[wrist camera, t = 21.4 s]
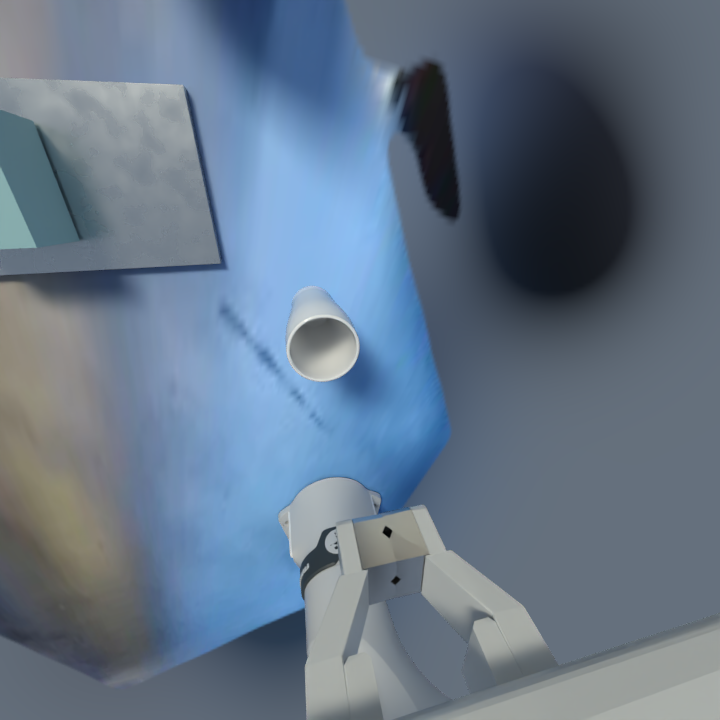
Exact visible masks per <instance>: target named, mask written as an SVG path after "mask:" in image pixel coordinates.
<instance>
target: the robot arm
mask: <svg viewBox="0 0 720 720" xmlns="http://www.w3.org/2000/svg"><path fill="white" fill-rule="evenodd" d="M380 503H381V497H380V494H379V493H376V492H373V491H370V490H368V489H366V488H365V487H364V486H363V485H362V484H360V483H359V482H357V481H355V480H352V479H348V478H341V477H335V478H327V479H323V480H320V481H317V482H315V483H312V484H310V485H309V486H307V487H306V488H304V489H303V490H302V491H301V492H300V493H299V494H298V495H297V496H296V497H295V499H294V500H293V502H292V503H291V504H290V505H289V506H288V507H286V508H285V509H283V510H282V511H281V512H280V513H279V514H278V518H279V522H280V524H281V526H282V528H283V530H284V531H285V533H286V535H287V537H288V539H289V544H290V556H291V557H292V558H293V559H294V561H295V563H296V564H297V566H298V567H299V568H300V587H301V594H302V598H303V599H304V601H305V619H306V641H307V656H308V660H307V662H306V665H305V683H306V709H307V710H306V711H307V720H720V613H718V614H715V615H712V616H710V617H706V618H703V619H700V620H697V621H694V622H691V623H688V624H685V625H682V626H678V627H675V628H672V629H669V630H666V631H663V632H660V633H657V634H654V635H651V636H648V637H645V638H641V639H638V640H636V641H632V642H629V643H626V644H623V645H620V646H617V647H614V648H611V649H608V650H605V651H602V652H598V653H595V654H592V655H589V656H586V657H583V658H580V659H577V660H574V661H571V662H568V663H565V664H561V665H558V663H557V662H556V660H555V658H554V656H553V655H552V653H551V651H550V650H549V648H548V646H547V645H546V643H545V641H544V640H543V638H542V636H541V635H540V633H539V631H538V630H537V628H536V626H535V625H534V623H533V621H532V620H531V618H530V616H529V615H528V613H527V611H526V609H525V608H524V606H523V605H521V604H520V603H519V602H517V601H516V600H515V599H514V598H512V597H511V596H510V595H509V594H507V593H506V592H505V591H503V590H502V589H501V588H500V587H498V586H497V585H496V584H494V583H493V582H492V581H490V580H489V579H488V578H487V577H485V576H484V575H483V574H481V573H480V572H479V571H478V570H476V569H475V568H474V567H473V566H471V565H470V564H469V563H467V562H466V561H465V560H464V559H462V558H461V557H459V556H458V555H457V554H456V553H455V552H453V551H452V550H448V551H447V550H446V548H445V546H444V544H443V542H442V540H441V537H440V536H439V533H438V531H437V529H436V527H435V525H434V523H433V521H432V518H431V516H430V514H429V512H428V510H427V508H426V507H425V505H418V506H413V507H409V508H408V507H406V508H401V509H397V510H392V511H388V512H383V513H380V514H378V511H379V507H380ZM420 592H421V594H422V595H423V596H424V597H425V598H426V599H427V600H428V602H429V603H430V604H431V605H432V606H433V607H434V608H435V609H436V610H437V611H438V612H439V613H440V615H441V616H442V617H443V618H444V619H445V620H446V621H447V622H448V623H449V624H450V625H451V627H452V628H453V629H454V630H455V631H456V632H457V633H458V634H459V635H460V636H461V637H462V638H463V640H464V641H465V642H466V643H468V648H467V651H466V655H465V659H464V663H463V667H462V674H463V677H464V679H465V682H466V685H467V687H468V690H469V693H470V694H469V695H466V696H463V697H460V698H457V699H454V700H452V699H451V698H449V697H448V696H447V695H445V694H444V693H442V692H441V691H440V690H439V689H438V688H437V687H435V686H434V685H433V684H432V683H431V682H430V681H429V680H428V679H427V678H426V677H425V676H424V675H423V674H422V672H421V671H420V670H419V669H418V667H417V666H416V665H415V664H414V662H413V661H412V660H411V658H410V657H409V655H408V653H407V652H406V650H405V649H404V647H403V645H402V643H401V641H400V639H399V637H398V635H397V632H396V630H395V627H394V624H393V621H392V618H391V615H390V612H389V609H388V606H387V603H386V600H390V599H393V598H397V597H401V596H406V595H410V594H415V593H420Z"/></svg>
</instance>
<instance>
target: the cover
mask: <svg viewBox="0 0 720 720" xmlns="http://www.w3.org/2000/svg"><path fill="white" fill-rule="evenodd" d="M77 241H80V240H79V237H78V235H77V232H76V229H75V227H74V224H73V222H72V219H71V217H70V214H69V212H68V209H67V206H66V204H65V201H64V199H63V196H62V194H61V191H60V188H59V186H58V183H57V181H56V178H55V176H54V173H53V170H52V168H51V165H50V163H49V160H48V158H47V155H46V153H45V150H44V147H43V145H42V142H41V140H40V137H39V135H38V132H37V129H36V127H35V124H34V122H33V121H32V120H29V119H26V118H23V117H20V116H17V115H14V114H12V113H9V112H6V111H3V110H0V249H19V248H39V247H45V246H51V245H58V244H64V243H70V242H77Z"/></svg>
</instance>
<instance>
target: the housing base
mask: <svg viewBox="0 0 720 720" xmlns="http://www.w3.org/2000/svg"><path fill="white" fill-rule="evenodd" d="M0 110H3V111H6V112H9V113H12V114H14V115H17V116H20V117H23V118H26V119H29V120H32V121H33V122H34V124H35V127H36V129H37V132H38V135H39V137H40V140H41V142H42V145H43V147H44V150H45V153H46V155H47V158H48V160H49V163H50V165H51V168H52V170H53V173H54V176H55V178H56V181H57V183H58V186H59V188H60V191H61V194H62V196H63V199H64V201H65V204H66V206H67V209H68V212H69V214H70V217H71V219H72V222H73V224H74V227H75V229H76V232H77V235H78V237H79V240H80V241H77V242H70V243H64V244H58V245H51V246H45V247H39V248H19V249H0V275H16V274H35V273H53V272H72V271H90V270H109V269H127V268H146V267H164V266H183V265H201V264H220V263H222V258H221V254H220V249H219V244H218V239H217V234H216V230H215V225H214V220H213V215H212V210H211V206H210V201H209V196H208V191H207V186H206V182H205V177H204V172H203V167H202V162H201V158H200V153H199V148H198V143H197V139H196V134H195V129H194V124H193V119H192V115H191V110H190V105H189V100H188V95H187V91H186V88H185V87H184V86H183V85H172V84H146V83H121V82H96V81H70V80H45V79H19V78H0Z"/></svg>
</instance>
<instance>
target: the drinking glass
mask: <svg viewBox="0 0 720 720" xmlns="http://www.w3.org/2000/svg"><path fill="white" fill-rule="evenodd" d="M285 342H286V352H287V357H288V360H289V363H290V365H291V366H292V368H293V369H294V370H295V371H296V372H297V373H298V374H299V375H301V376H302V377H304V378H306V379H309V380H312V381H317V382H326V381H332V380H335V379H337V378H340V377H341V376H343V375H345V374H346V373H347V372H348V371H349V370H350V369H351V368H352V367H353V366H354V364H355V362H356V361H357V358H358V355H359V350H360V343H359V338H358V335H357V333H356V330H355V328H354V326H353V324H352V322H351V320H350V319H349V317H348V316H347V314H346V313H345V312H344V311H343V310H342V309H341V308H340V306H339V305H338V304H337V303H336V302H335V301H334V300H333V299H332V298H331V296H330V295H329V294H328V292H327V291H325V290H324V289H323V288H320V287H318V286H307V287H304V288H302V289H300V290H299V291H298V292H297V293H296V294H295V296H294V297H293V300H292V308H291V312H290V315H289V319H288V323H287V327H286V336H285Z"/></svg>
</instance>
